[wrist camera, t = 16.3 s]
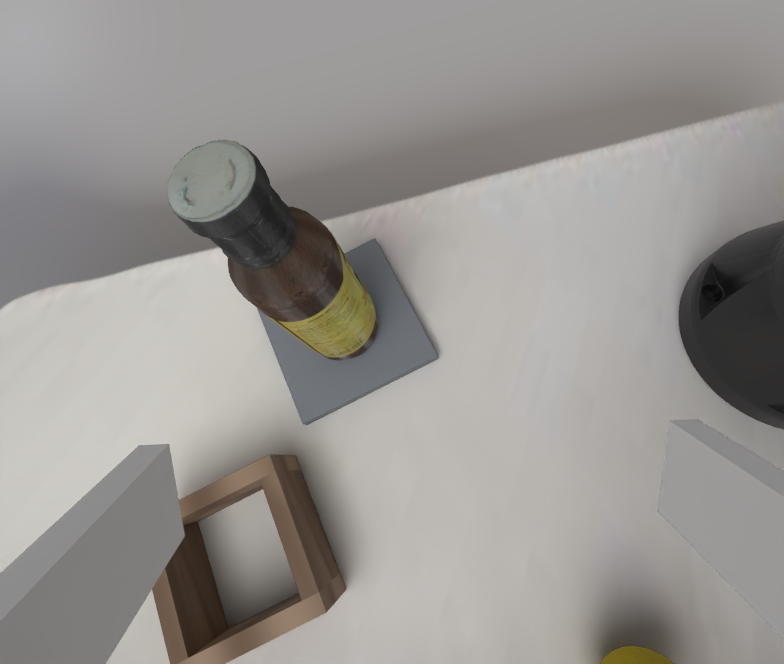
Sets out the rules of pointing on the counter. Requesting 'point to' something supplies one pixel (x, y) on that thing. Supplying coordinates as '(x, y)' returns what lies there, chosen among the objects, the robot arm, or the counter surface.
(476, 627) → the counter surface
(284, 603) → the walnut sleeve
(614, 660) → the lemon
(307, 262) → the sauce bottle
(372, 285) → the rubber mat
